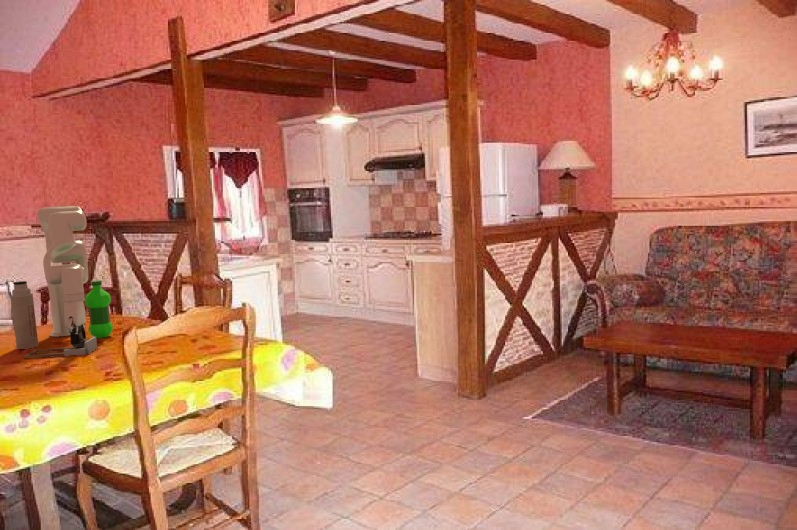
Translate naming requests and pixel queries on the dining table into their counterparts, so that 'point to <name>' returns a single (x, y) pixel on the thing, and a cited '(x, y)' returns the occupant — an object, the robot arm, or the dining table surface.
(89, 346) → the socket
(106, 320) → the plastic bottle
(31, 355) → the channel
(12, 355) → the dining table surface
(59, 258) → the robot arm
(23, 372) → the dining table surface
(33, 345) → the thermos bottle
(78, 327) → the dark grey chess piece
